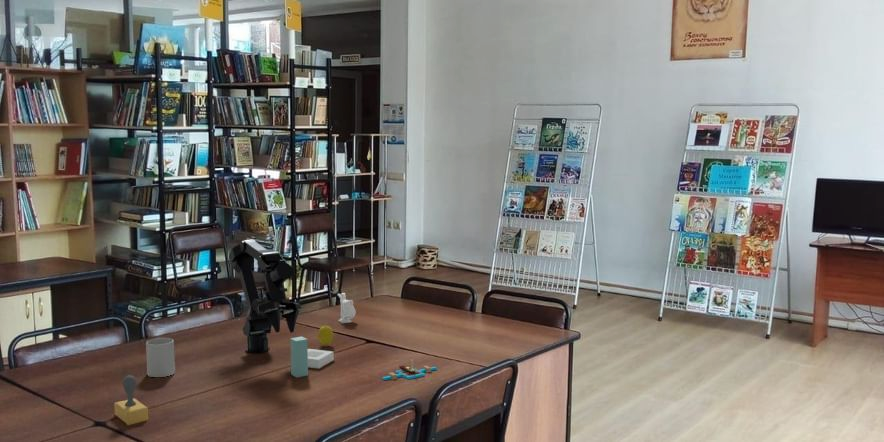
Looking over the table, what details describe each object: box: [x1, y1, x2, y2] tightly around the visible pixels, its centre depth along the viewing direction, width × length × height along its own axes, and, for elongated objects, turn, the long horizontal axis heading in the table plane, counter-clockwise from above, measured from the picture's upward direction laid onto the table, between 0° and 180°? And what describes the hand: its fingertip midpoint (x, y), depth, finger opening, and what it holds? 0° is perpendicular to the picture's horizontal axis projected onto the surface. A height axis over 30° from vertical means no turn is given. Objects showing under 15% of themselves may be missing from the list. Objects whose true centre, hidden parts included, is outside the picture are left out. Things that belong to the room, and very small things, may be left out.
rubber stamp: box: [113, 374, 149, 426], centre depth 211 cm, size 10×6×12 cm, turn 41°
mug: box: [145, 337, 176, 377], centre depth 250 cm, size 12×8×11 cm
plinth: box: [307, 348, 334, 369], centre depth 262 cm, size 10×10×3 cm
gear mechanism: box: [381, 360, 438, 381], centre depth 250 cm, size 20×5×9 cm
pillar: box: [289, 336, 309, 378], centre depth 248 cm, size 4×4×12 cm
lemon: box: [317, 324, 334, 347], centre depth 281 cm, size 6×6×8 cm
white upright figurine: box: [337, 292, 357, 324], centre depth 316 cm, size 8×7×12 cm
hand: (285, 332), depth 256 cm, fingers open, 9 cm apart
